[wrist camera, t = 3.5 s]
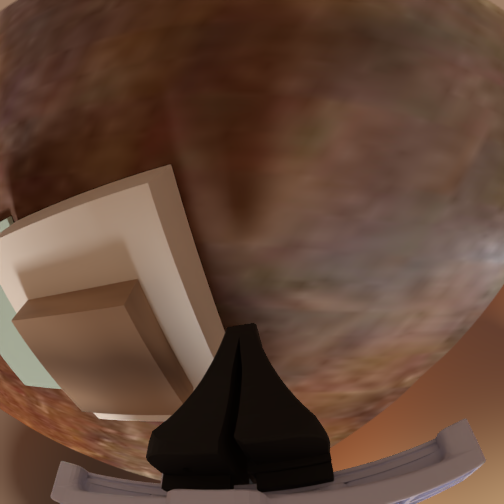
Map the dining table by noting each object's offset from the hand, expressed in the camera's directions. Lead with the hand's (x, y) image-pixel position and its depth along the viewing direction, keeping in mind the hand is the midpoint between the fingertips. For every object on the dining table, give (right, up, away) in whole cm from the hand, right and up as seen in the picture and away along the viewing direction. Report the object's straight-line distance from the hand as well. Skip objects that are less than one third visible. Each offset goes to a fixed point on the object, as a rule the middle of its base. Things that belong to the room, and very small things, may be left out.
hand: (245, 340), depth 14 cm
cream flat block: (-8, +1, +5) cm, 9 cm away
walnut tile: (-8, -1, +1) cm, 8 cm away
